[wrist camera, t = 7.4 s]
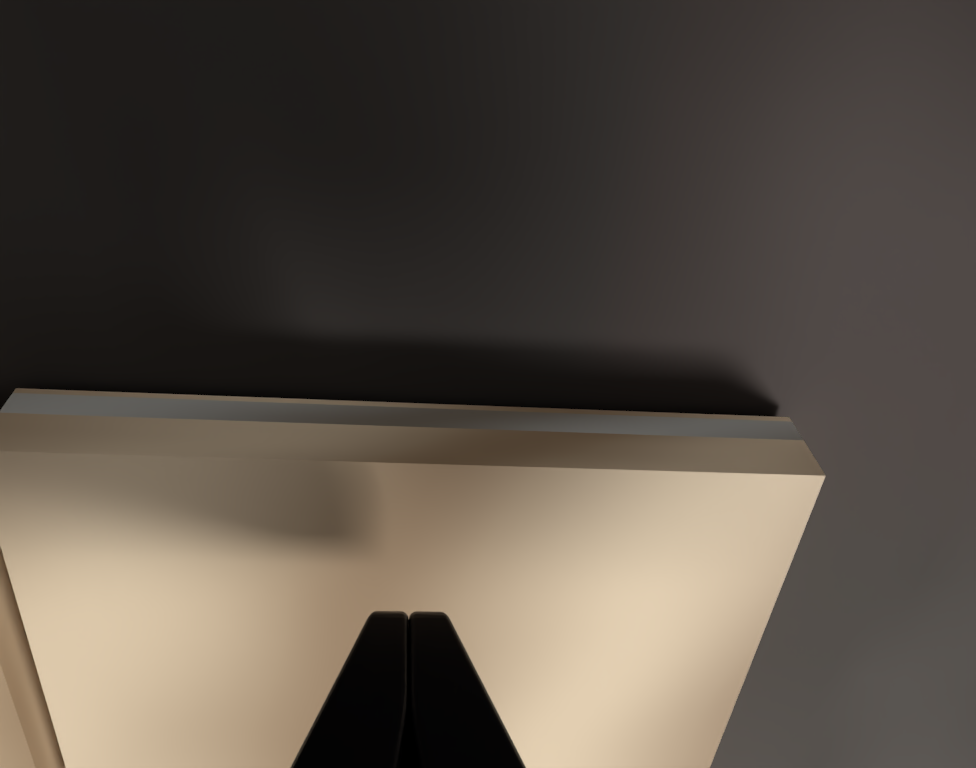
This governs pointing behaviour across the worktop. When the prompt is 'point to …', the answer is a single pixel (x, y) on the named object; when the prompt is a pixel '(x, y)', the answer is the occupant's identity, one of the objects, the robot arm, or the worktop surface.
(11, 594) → the plank
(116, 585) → the plank
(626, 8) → the worktop surface
